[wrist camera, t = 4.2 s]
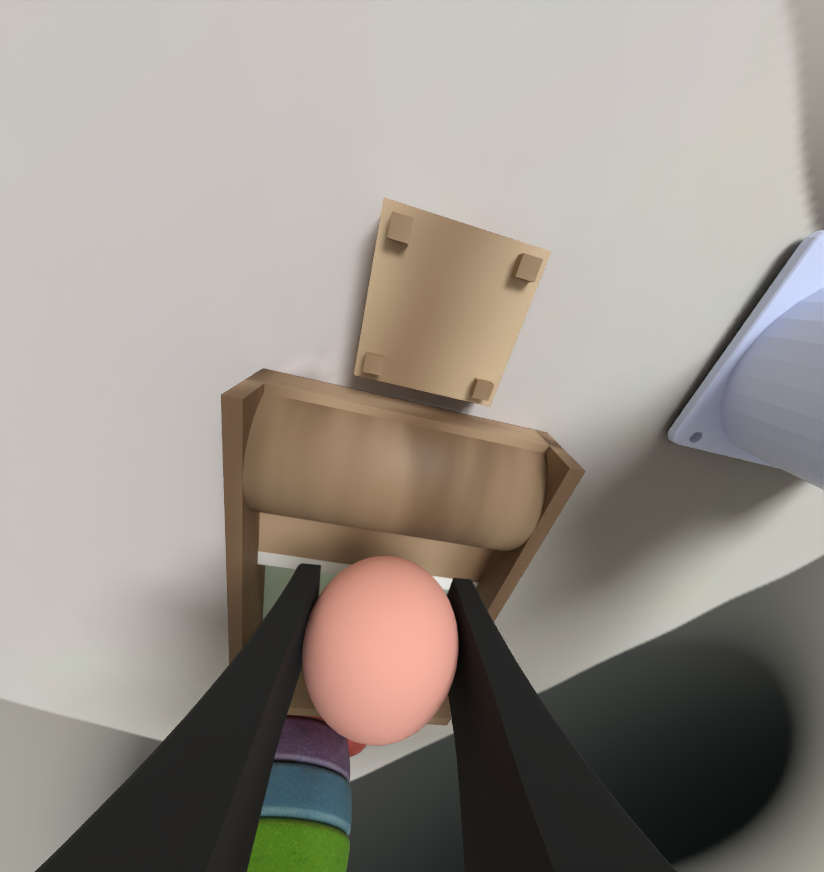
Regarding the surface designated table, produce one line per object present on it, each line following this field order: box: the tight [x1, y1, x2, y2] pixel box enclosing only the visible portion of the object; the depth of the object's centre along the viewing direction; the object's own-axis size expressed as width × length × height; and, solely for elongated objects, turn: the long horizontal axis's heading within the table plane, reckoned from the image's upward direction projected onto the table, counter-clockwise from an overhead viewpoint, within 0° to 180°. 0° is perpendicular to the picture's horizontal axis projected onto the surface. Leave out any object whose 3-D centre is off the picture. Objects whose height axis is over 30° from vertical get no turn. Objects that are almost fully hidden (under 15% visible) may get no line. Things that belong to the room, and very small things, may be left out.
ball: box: [302, 556, 459, 745], centre depth 9 cm, size 4×4×4 cm
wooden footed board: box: [354, 198, 551, 407], centre depth 10 cm, size 5×5×2 cm
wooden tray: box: [221, 368, 585, 725], centre depth 15 cm, size 12×17×7 cm
